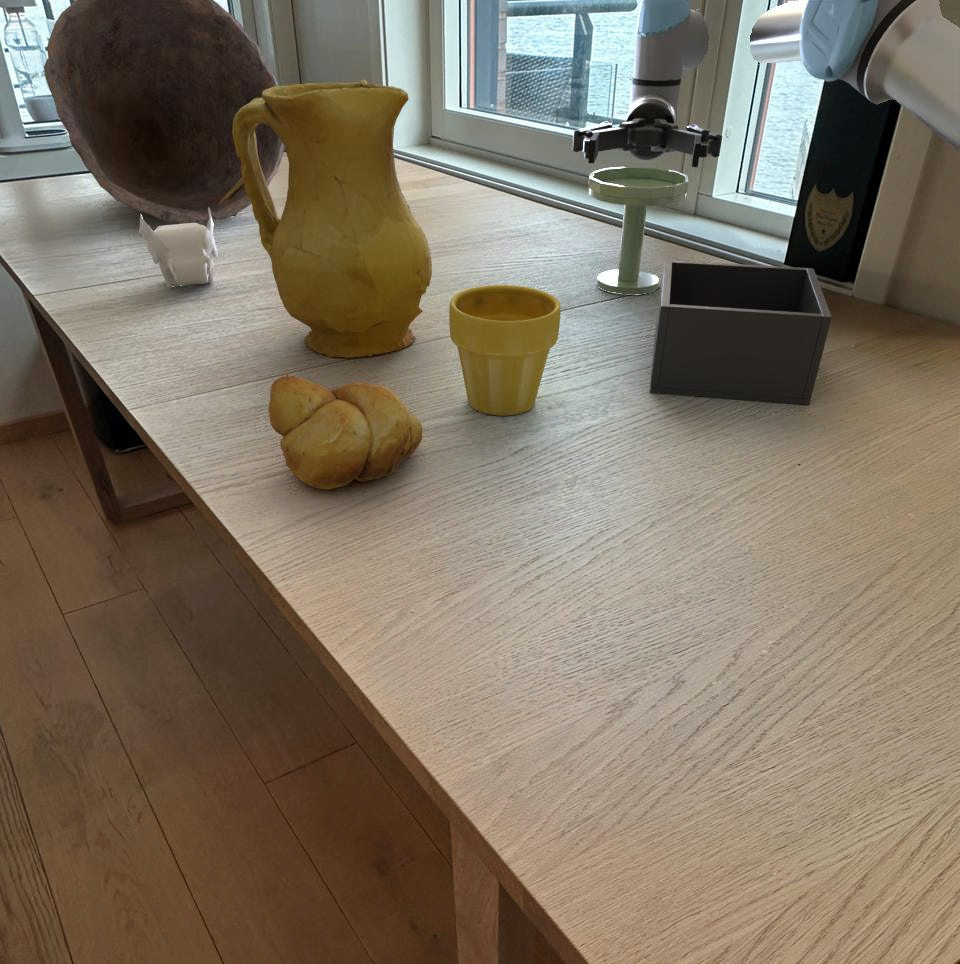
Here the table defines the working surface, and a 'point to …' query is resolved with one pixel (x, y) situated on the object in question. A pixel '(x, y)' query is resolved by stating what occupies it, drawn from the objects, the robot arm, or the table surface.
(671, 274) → the bin
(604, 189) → the pedestal stand
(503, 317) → the flower pot
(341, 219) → the pitcher
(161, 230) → the white open carton
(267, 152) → the bowl
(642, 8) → the robot arm
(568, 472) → the table surface
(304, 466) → the bread roll
